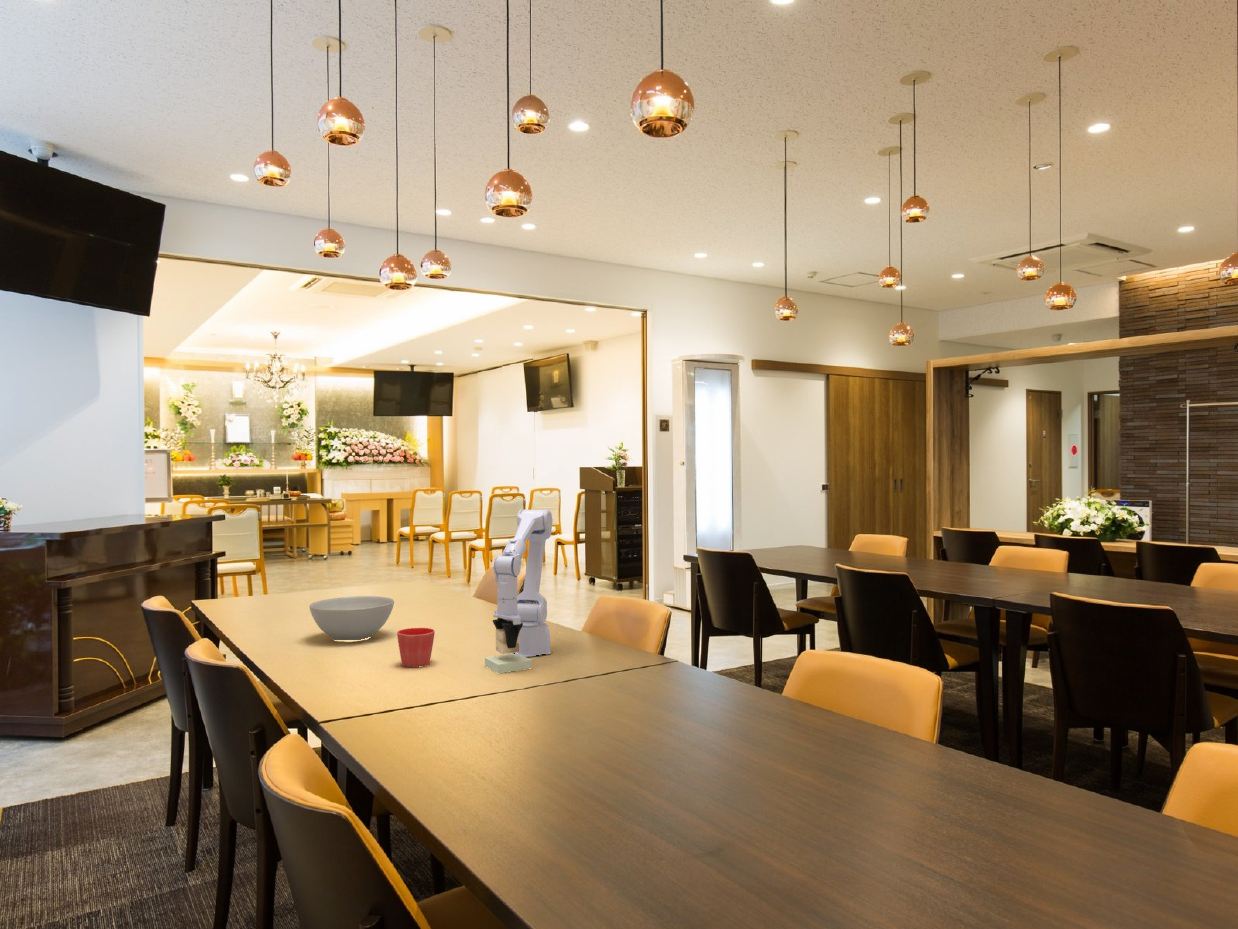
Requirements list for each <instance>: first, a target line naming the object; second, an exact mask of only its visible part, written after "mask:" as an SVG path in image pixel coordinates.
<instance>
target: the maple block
mask: <svg viewBox="0 0 1238 929" xmlns="http://www.w3.org/2000/svg"><path fill="white" fill-rule="evenodd" d="M495 651H496V652H498V653H500V654H501V655H507V654H514V652H519V635H518V638H517V643H516V647H515V648H508V647H507V642H506V635H505V631H504V629H496V628H495Z"/></svg>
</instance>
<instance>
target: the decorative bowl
mask: <svg viewBox="0 0 1238 929" xmlns="http://www.w3.org/2000/svg"><path fill="white" fill-rule="evenodd" d="M394 604H395V600H394V599H393V598H390V597H386V596H374V595H371V596H368V595H365V596H364V595H363V596H361V595H360V596H359V595H357V596H343V597H342V596H341V597H334V598H327V599H322V600H318V601H317V600H316V601H314V602H312V603H310V604H309V612H310V613H311V616H312V618H313V620H314V622H315V624H316V625H317V627H318V628H319V629H320V630H321V631H322V632H324V634H326V635H327V636H330V637H331V638H332V640H333V639H334V640H361V639H365V638H368V637H372V638H373V635H375V633H377V632H378V631H380V630H381V629H382V627H383V626H384V625H385V624H386V622H387V621H388V620H389V618H390V615H391V613H392V611H393V609H394V608H393V607H394Z"/></svg>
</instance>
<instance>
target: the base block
mask: <svg viewBox="0 0 1238 929" xmlns="http://www.w3.org/2000/svg"><path fill="white" fill-rule="evenodd" d="M485 666H486V667H488V668H490V669H491V670H490V669H489V670H490V671H492V670H493V671H495V672H497V673H503V672H509V671H516V672H520V671H519V670H523V671H525V670H524V669H529V668H531V669H532V659H530V658H529V657H524V656H522V655H520V654H518V653H515V654H514V653H507V654H500V655H494V656H487V657H484V667H485ZM486 667H485V668H486ZM488 668H487V669H488ZM493 671H492V672H493ZM495 672H494V673H495ZM497 673H496V674H497ZM503 674H504V673H503Z"/></svg>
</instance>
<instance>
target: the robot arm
mask: <svg viewBox="0 0 1238 929" xmlns="http://www.w3.org/2000/svg"><path fill="white" fill-rule="evenodd" d="M553 520H554V519H553V514H552V512H551V511H550V509H548V508H545V509H525V508H521V509H519V511H518V512H517V515H516V523H517V529H516V530H515V534H514V537H512V538H510V539H509V540H508V542H507V543H506V545H505V548H504V550H503V551H502V553H501V555H498V556H497V557H495V558H494V561H493V566H492V570H493V574H494V580H495V583H496V597H497V598H496V601H497V602H496V606H497V607H496V609H495V610H494V614H493V618H496V619H493V620H492V623H493V625H494V627H495V630H496V629H504V631H505V635H506V642H507V647H508V648H515V647H516V643H517V638H518V635H519V652H514V653H518V654H520V655H522V656H524V657H526V658H529V657H537V656H536V655H539V656H541V655H540V654H546V655H551V654H552V651H551V632H550V627H549V625H548V624H547V623H545V622H546V621H547V617H548V601H547V599H546V598H545V597H544V596H543V594H541V593H540V587H541V579H542V571H543V563H544V555H545V546H546V543H547V542H546V541H547V540H548V539H550V538H551V535H552V530H553V529H552V528H553ZM527 541H528V543H529V544H528V552H527V559H526V567H525V574H524V582H523V590H522V591H521V592H520V593H519V594H518V576H519V575H520V573H521V569H522V567H521V566H522V559H523V557H524V555H525V553H526V551H527V544H526V542H527ZM514 653H513V654H514Z"/></svg>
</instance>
